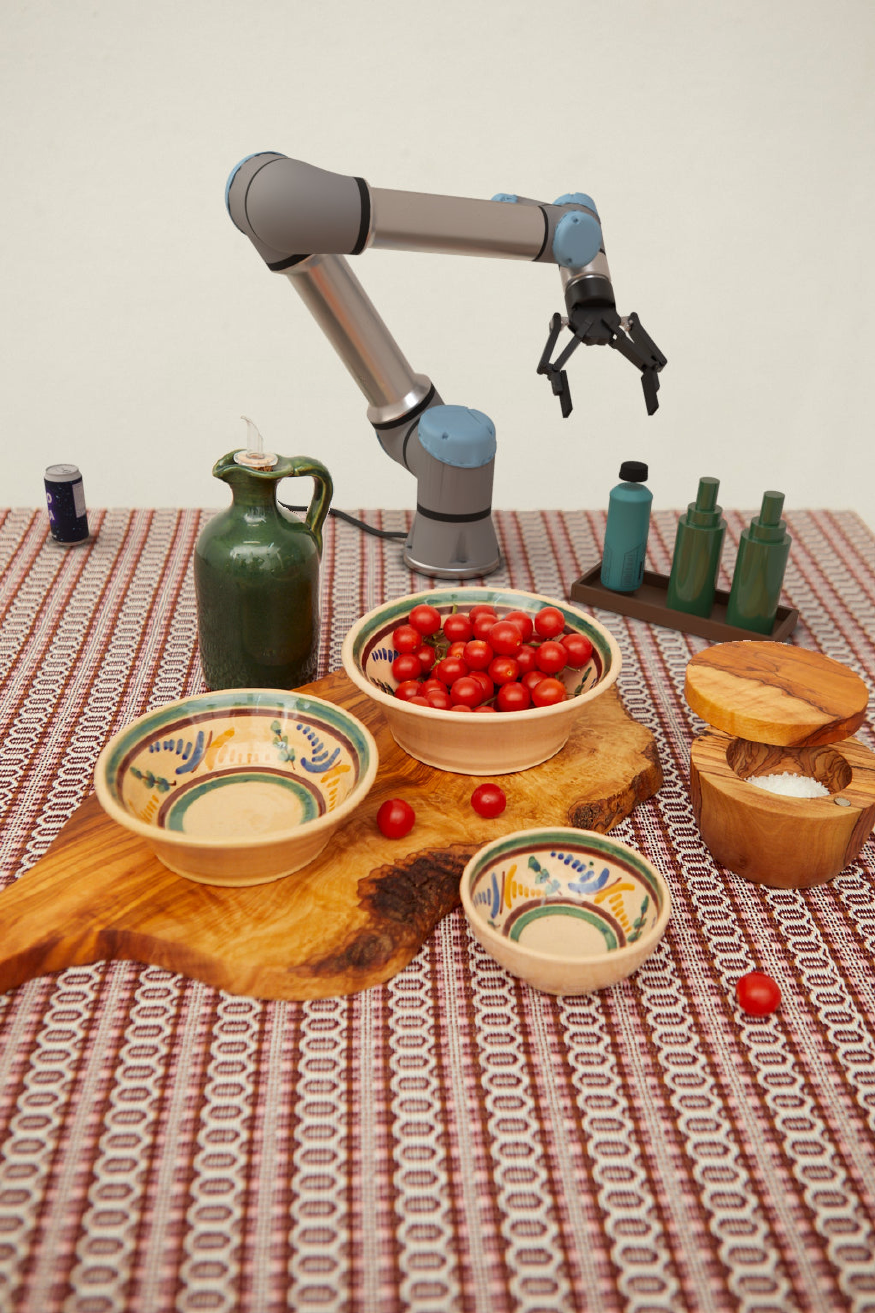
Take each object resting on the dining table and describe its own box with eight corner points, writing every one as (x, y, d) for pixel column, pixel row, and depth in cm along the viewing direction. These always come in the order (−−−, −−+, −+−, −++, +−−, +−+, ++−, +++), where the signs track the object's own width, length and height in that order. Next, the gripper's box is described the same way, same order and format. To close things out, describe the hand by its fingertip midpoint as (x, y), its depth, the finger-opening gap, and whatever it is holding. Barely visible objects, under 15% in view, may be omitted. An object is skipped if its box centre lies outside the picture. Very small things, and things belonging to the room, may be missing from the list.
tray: (569, 599, 163) (571, 583, 162) (602, 573, 172) (603, 558, 170) (772, 657, 149) (775, 640, 148) (796, 626, 158) (799, 609, 157)
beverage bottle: (640, 603, 161) (658, 473, 152) (595, 597, 162) (610, 468, 153) (642, 585, 167) (659, 458, 157) (598, 580, 168) (613, 454, 158)
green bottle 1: (657, 613, 159) (677, 481, 149) (674, 596, 164) (694, 468, 154) (702, 625, 156) (725, 491, 146) (718, 608, 161) (741, 478, 151)
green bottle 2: (717, 629, 155) (741, 495, 145) (733, 612, 160) (757, 481, 150) (764, 642, 151) (792, 506, 142) (779, 624, 157) (806, 492, 147)
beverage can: (74, 531, 178) (65, 460, 173) (97, 540, 176) (88, 468, 170) (45, 541, 174) (34, 469, 169) (68, 550, 172) (58, 477, 166)
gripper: (654, 303, 175) (678, 422, 170) (504, 303, 170) (524, 426, 164) (672, 274, 168) (698, 397, 163) (516, 274, 163) (538, 401, 157)
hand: (611, 412), depth 164 cm, fingers open, 13 cm apart
